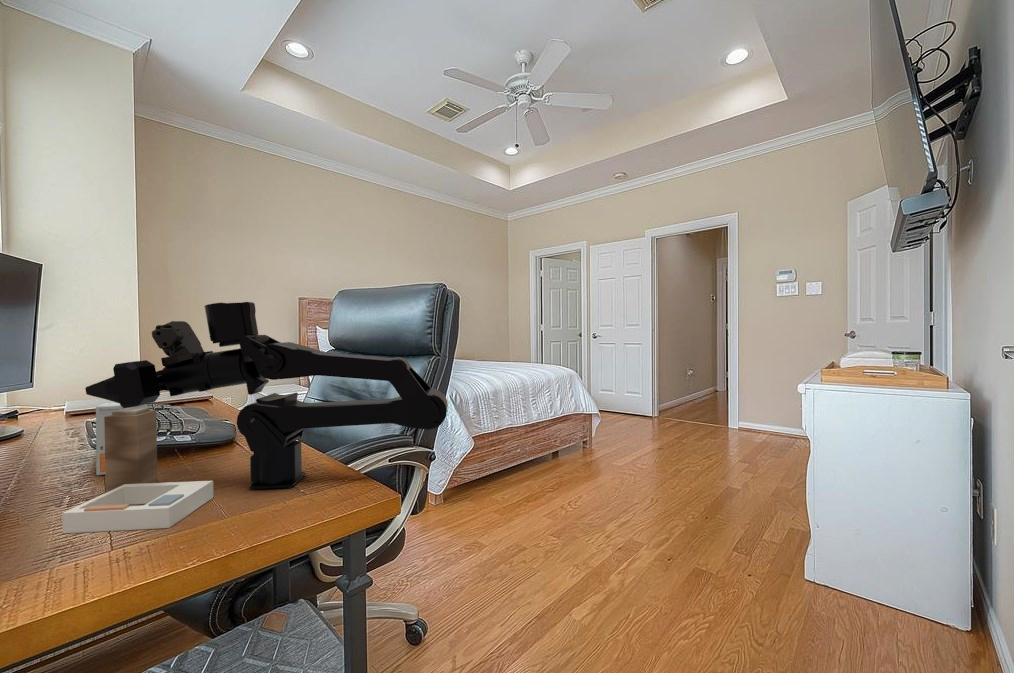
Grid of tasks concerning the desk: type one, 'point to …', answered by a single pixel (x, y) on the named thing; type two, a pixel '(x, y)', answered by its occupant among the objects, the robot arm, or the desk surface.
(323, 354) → the robot arm
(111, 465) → the walnut plug
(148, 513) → the tray
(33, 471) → the desk surface
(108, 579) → the desk surface
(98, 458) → the skincare box
